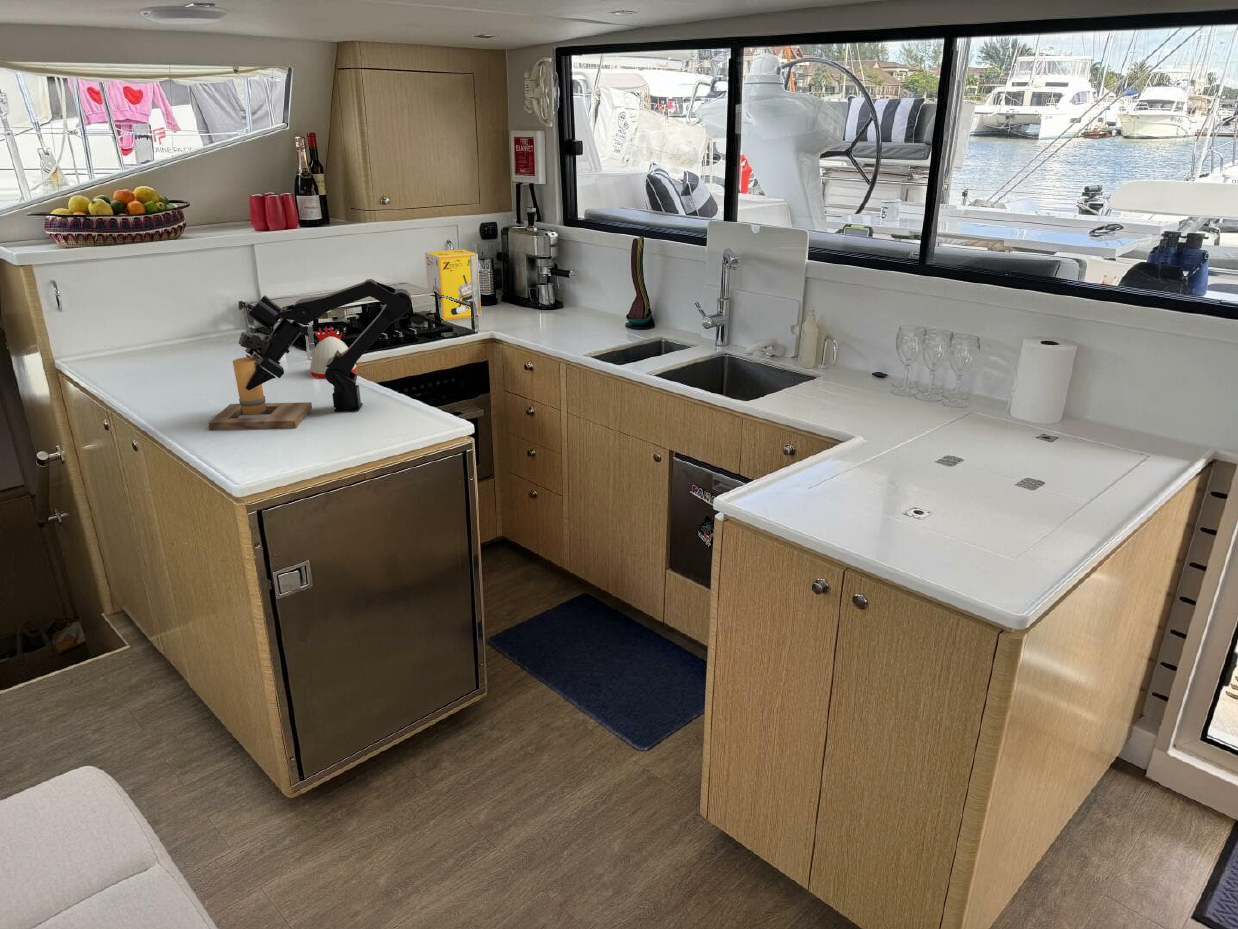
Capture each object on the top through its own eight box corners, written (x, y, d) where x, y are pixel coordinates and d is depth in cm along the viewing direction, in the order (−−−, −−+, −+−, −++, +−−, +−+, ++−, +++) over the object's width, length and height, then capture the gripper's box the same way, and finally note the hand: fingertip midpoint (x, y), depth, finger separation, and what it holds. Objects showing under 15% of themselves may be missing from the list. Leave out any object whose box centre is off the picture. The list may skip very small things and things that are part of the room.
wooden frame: (312, 409, 242) (311, 402, 241) (295, 428, 227) (294, 420, 227) (231, 410, 241) (230, 403, 240) (209, 429, 226) (208, 422, 225)
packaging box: (481, 316, 356) (477, 253, 347) (443, 320, 348) (438, 257, 339) (467, 309, 369) (463, 249, 360) (429, 313, 361) (424, 251, 352)
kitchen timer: (307, 370, 280) (301, 324, 274) (351, 365, 286) (346, 320, 280) (315, 381, 268) (309, 333, 263) (360, 375, 274) (355, 328, 269)
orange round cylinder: (270, 406, 236) (261, 356, 231) (262, 414, 230) (253, 363, 225) (246, 407, 236) (236, 357, 231) (238, 415, 230) (228, 363, 225)
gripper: (247, 314, 234) (210, 361, 232) (263, 327, 219) (224, 377, 218) (282, 339, 241) (246, 384, 239) (300, 353, 226) (262, 401, 225)
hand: (244, 386), depth 230 cm, fingers closed on orange round cylinder, 6 cm apart
